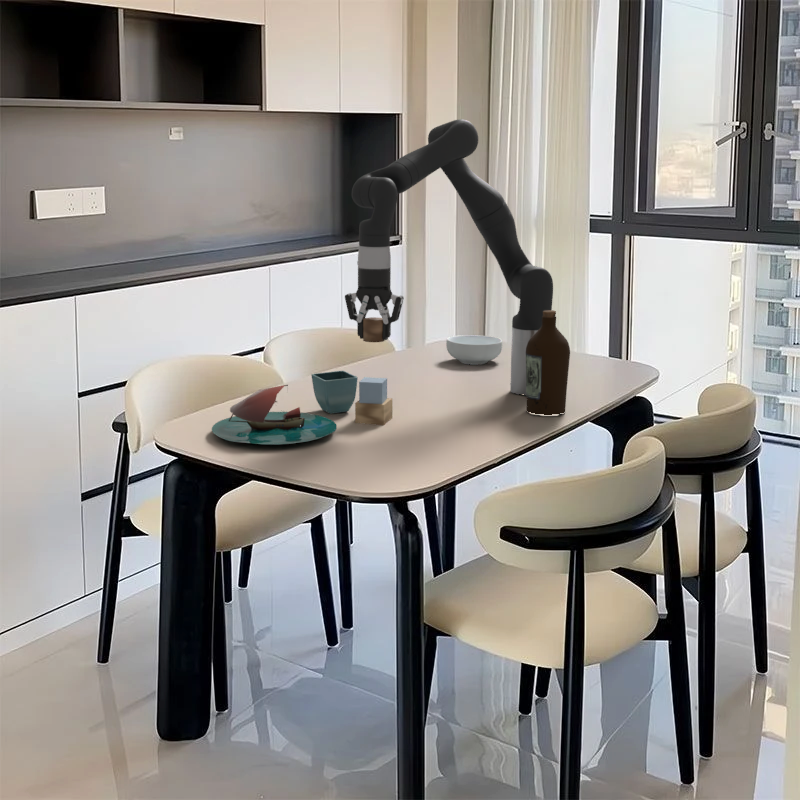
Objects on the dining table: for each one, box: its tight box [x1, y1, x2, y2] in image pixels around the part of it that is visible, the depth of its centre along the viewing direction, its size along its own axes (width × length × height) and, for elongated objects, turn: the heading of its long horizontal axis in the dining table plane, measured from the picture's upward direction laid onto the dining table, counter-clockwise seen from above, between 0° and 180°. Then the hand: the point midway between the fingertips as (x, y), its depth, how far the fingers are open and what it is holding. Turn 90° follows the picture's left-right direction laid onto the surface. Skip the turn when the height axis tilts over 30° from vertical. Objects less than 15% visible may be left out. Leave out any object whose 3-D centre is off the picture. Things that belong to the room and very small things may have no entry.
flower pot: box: [311, 370, 359, 415], centre depth 268 cm, size 9×9×9 cm
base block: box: [354, 397, 393, 426], centre depth 260 cm, size 7×7×5 cm
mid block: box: [358, 376, 388, 404], centre depth 259 cm, size 6×6×5 cm
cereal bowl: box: [446, 334, 503, 366], centre depth 328 cm, size 17×17×7 cm
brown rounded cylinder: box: [362, 316, 386, 343], centre depth 256 cm, size 5×5×5 cm
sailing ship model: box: [211, 384, 338, 445], centre depth 247 cm, size 28×28×11 cm
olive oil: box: [525, 310, 571, 415], centre depth 266 cm, size 11×11×25 cm
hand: (373, 338), depth 256 cm, fingers closed on brown rounded cylinder, 5 cm apart
